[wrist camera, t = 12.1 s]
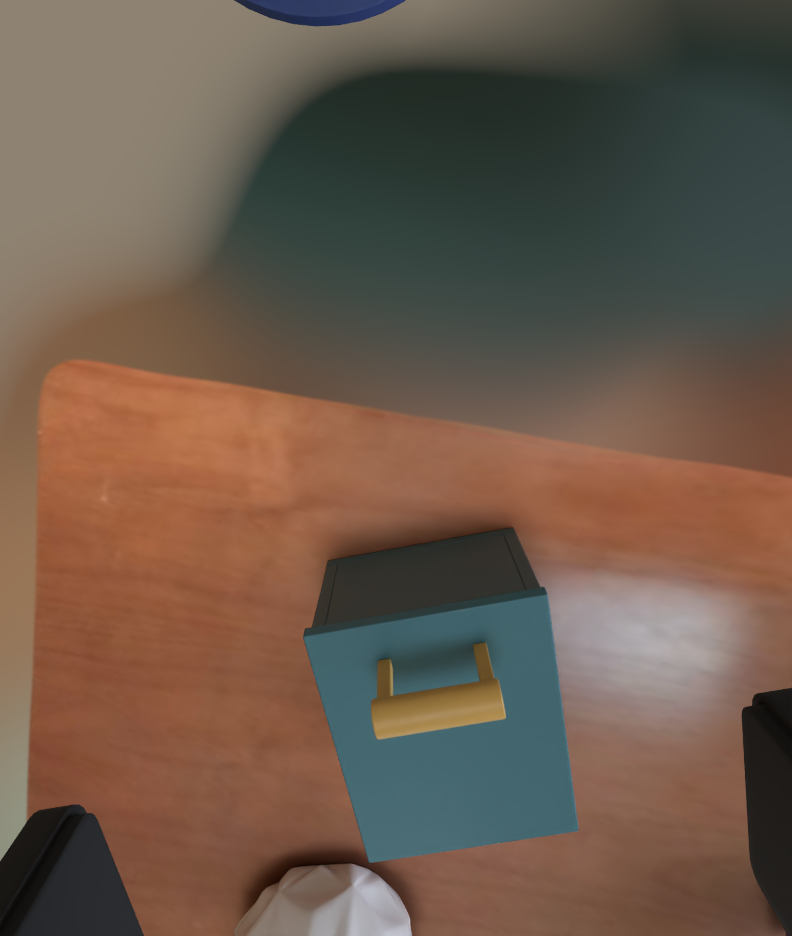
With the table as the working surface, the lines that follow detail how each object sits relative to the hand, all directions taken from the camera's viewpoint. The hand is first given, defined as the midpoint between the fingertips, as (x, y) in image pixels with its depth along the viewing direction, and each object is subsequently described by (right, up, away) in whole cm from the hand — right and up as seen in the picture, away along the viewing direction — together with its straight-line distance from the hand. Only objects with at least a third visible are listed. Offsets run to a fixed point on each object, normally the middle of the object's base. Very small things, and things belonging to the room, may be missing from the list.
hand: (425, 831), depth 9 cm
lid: (+3, -10, +28) cm, 29 cm away
